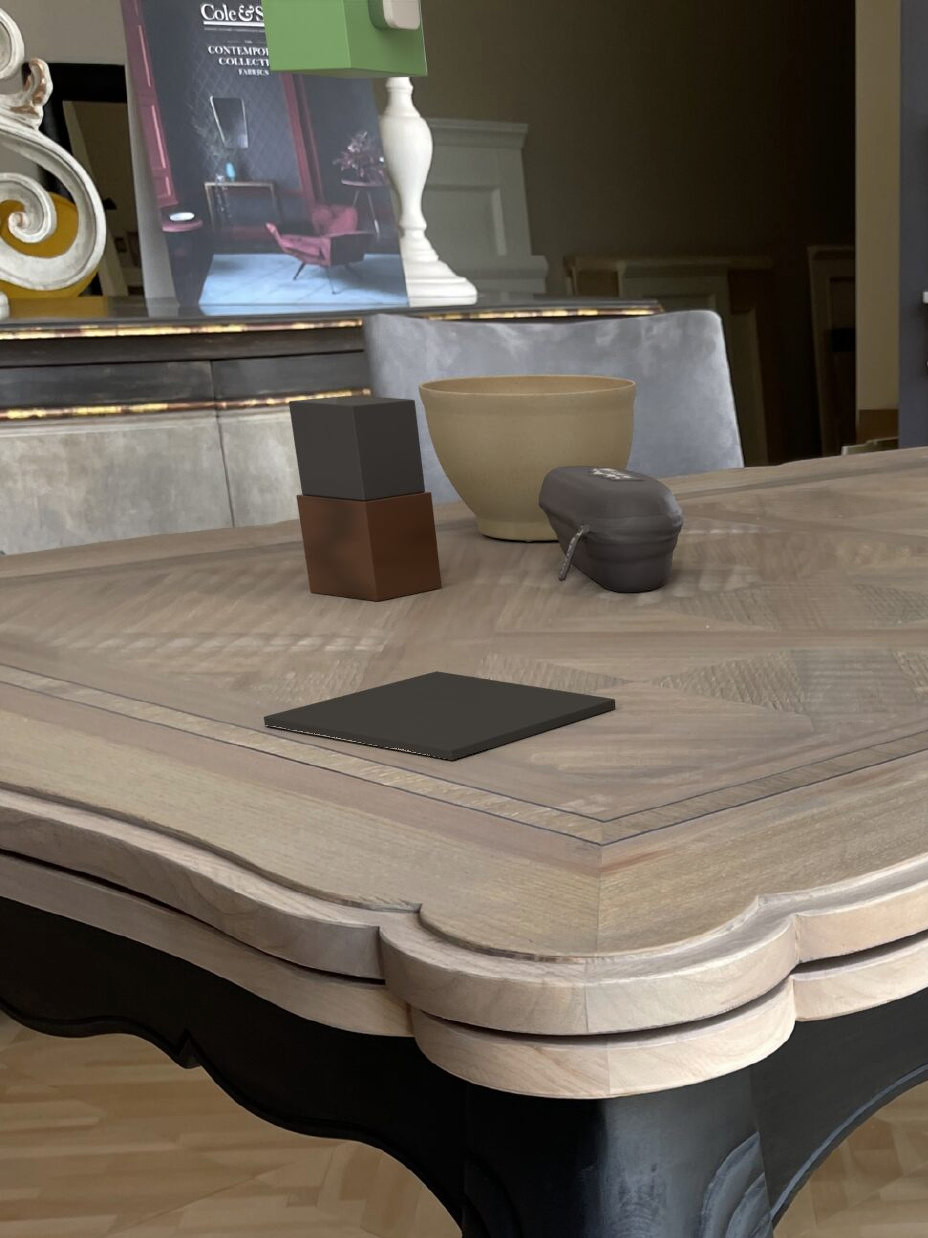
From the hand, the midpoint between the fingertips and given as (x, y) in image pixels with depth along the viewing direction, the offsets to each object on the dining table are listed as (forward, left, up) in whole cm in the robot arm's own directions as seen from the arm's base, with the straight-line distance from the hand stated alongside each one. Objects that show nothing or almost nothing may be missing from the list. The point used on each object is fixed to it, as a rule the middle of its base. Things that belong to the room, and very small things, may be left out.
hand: (344, 32), depth 82 cm
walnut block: (-21, +18, -29) cm, 40 cm away
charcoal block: (-21, +18, -23) cm, 36 cm away
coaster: (+7, -6, -29) cm, 31 cm away
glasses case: (-12, +31, -29) cm, 44 cm away
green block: (0, 0, -2) cm, 2 cm away
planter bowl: (-28, +43, -29) cm, 59 cm away
